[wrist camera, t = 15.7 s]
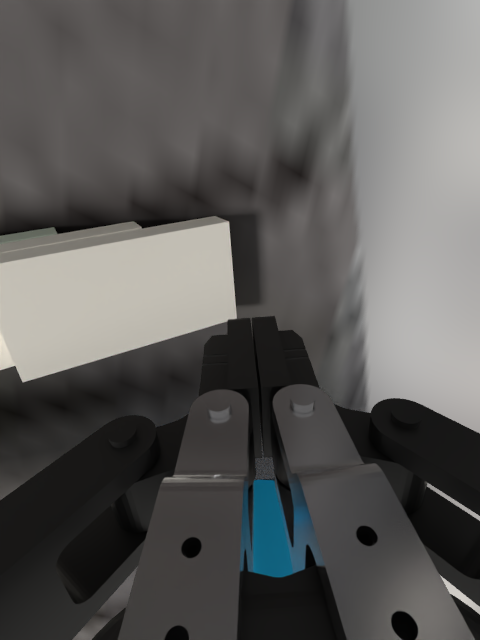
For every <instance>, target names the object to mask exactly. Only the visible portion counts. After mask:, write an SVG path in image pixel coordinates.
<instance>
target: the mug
mask: <svg viewBox="0 0 480 640" xmlns="http://www.w3.org/2000/svg"><path fill="white" fill-rule="evenodd" d="M253 572H254V573H259V574H263V575H268V576H272V577H285V576H288V575H290V574H293V570H292V563H291V557H290V552H289V547H288V543H287V538H286V534H285V529H284V524H283V520H282V515H281V511H280V506H279V502H278V497H277V492H276V488H275V480H254V539H253Z"/></svg>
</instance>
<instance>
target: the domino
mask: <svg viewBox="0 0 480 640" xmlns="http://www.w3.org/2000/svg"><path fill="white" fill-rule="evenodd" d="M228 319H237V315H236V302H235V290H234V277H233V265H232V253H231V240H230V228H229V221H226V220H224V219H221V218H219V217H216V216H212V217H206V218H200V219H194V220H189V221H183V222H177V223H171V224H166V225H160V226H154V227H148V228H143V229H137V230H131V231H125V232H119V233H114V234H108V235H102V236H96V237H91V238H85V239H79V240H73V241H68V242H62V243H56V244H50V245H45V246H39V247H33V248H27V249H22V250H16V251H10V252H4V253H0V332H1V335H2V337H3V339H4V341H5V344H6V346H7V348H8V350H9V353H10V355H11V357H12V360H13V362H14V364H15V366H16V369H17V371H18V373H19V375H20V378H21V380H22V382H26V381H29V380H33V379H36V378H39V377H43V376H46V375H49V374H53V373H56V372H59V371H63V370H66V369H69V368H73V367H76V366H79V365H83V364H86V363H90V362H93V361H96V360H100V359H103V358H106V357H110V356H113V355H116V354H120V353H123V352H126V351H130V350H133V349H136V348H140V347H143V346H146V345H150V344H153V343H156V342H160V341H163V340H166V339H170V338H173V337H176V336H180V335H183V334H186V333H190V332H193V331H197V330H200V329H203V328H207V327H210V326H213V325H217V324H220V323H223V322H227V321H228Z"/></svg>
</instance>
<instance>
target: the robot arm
mask: <svg viewBox="0 0 480 640" xmlns="http://www.w3.org/2000/svg"><path fill="white" fill-rule="evenodd" d="M252 331H253V338H252ZM260 423H261V432H262V441H263V451H264V457H273V463H274V478H275V488H276V492H277V497H278V502H279V506H280V511H281V515H282V520H283V524H284V529H285V534H286V538H287V543H288V547H289V552H290V557H291V563H292V570H293V574H290V575H288V576H285V577H272V576H268V575H263V574H259V573H254V572H253V539H254V479H255V476H256V467H255V458H262V453H261V433H260ZM427 483H429V484H431V485H432V486H434V487H436V488H437V489H439V490H440V491H442V492H443V493H445V494H447V495H448V496H450V497H451V498H453V499H454V500H456V501H458V502H459V503H461V504H462V505H464V506H465V507H467V508H469V509H470V510H471V511H473V512H475V513H476V514H478V515H479V516H480V434H479V433H477V432H475V431H473V430H471V429H469V428H467V427H465V426H463V425H461V424H459V423H457V422H455V421H453V420H451V419H449V418H447V417H445V416H443V415H441V414H439V413H437V412H435V411H433V410H431V409H429V408H427V407H425V406H423V405H421V404H418V403H416V402H413V401H410V400H406V399H395V398H393V399H386V400H383V401H380V402H378V403H377V404H376V405H375V406H374V407H373V408H372V411H371V413H367V412H361V411H355V410H350V409H345V408H342V407H340V406H337V405H335V404H334V403H333V401H332V399H331V398H330V396H329V395H328V394H327V393H326V392H324V391H323V390H321V389H320V388H319V385H318V382H317V379H316V377H315V374H314V371H313V368H312V365H311V362H310V360H309V358H308V354H307V351H306V350H305V346H304V343H303V340H302V338H301V337H300V336H299V335H298V334H296V333H295V332H294V331H293V330H287V331H278V328H277V324H276V320H275V316H269V317H255V318H252V330H251V321H250V318H242V319H228V335H216V336H212V337H211V338H210V339H209V340H208V341H207V343H206V344H205V346H204V357H203V366H202V374H201V383H200V392H199V397H198V398H197V399H196V400H195V401H194V402H193V403H192V405H191V407H190V410H189V414H188V415H186V416H185V417H183V418H182V419H180V420H178V421H175V422H172V423H169V424H166V425H163V426H160V427H157V428H156V427H155V425H154V423H153V422H152V421H151V420H150V419H148V418H146V417H143V416H137V415H132V416H125V417H121V418H118V419H115V420H113V421H111V422H109V423H108V424H106V425H104V426H103V427H102V428H100V429H99V430H98V431H96V432H95V433H93V434H92V435H91V436H89V437H88V438H86V439H85V440H84V441H82V442H81V443H80V444H78V445H77V446H75V447H74V448H73V449H71V450H70V451H68V452H67V453H66V454H64V455H63V456H61V457H60V458H59V459H57V460H56V461H55V462H53V463H52V464H50V465H49V466H48V467H46V468H45V469H43V470H42V471H41V472H39V473H38V474H36V475H35V476H34V477H32V478H31V479H30V480H28V481H27V482H25V483H24V484H23V485H21V486H20V487H18V488H17V489H16V490H14V491H13V492H12V493H10V494H9V495H7V496H6V497H5V498H3V499H2V500H0V640H72V639H73V638H74V637H75V636H76V635H77V633H78V632H79V631H80V630H81V629H82V628H83V627H84V626H85V624H86V623H87V622H88V621H89V620H90V619H91V618H92V617H93V615H94V614H95V613H96V612H97V611H98V610H99V609H100V608H101V606H102V605H103V604H104V603H105V602H106V601H107V600H108V599H109V597H110V596H111V595H112V594H113V593H114V592H115V591H116V590H117V589H118V587H119V586H120V585H121V584H122V583H123V582H124V581H125V580H126V578H127V577H128V576H129V575H130V574H131V573H132V572H133V571H134V569H135V568H136V567H137V566H138V568H137V571H136V575H135V578H134V582H133V586H132V589H131V593H130V597H129V600H128V604H127V607H126V608H124V609H123V610H122V611H121V612H120V613H118V614H117V615H116V616H115V617H114V618H112V619H111V620H110V621H109V622H108V623H107V624H106V625H105V626H104V627H103V628H102V629H101V630H100V631H99V632H98V633H97V634H96V635H95V637H94V638H93V639H92V640H480V615H479V614H478V613H477V612H476V611H474V610H473V609H472V608H471V607H469V606H468V605H466V604H465V603H464V602H462V601H461V600H459V599H458V598H456V597H455V596H453V595H451V594H450V593H449V591H448V589H447V588H446V586H445V584H444V582H443V580H442V578H441V577H440V575H441V576H442V577H443V578H445V579H446V580H447V581H449V582H450V583H451V584H452V585H453V586H455V587H456V588H457V589H458V590H460V591H461V592H462V593H463V594H465V595H466V596H467V597H468V598H470V599H471V600H472V601H473V602H475V603H476V604H477V605H478V606H480V521H479V520H477V519H476V518H474V517H473V516H471V515H470V514H468V513H467V512H465V511H464V510H462V509H460V508H459V507H457V506H456V505H454V504H453V503H451V502H450V501H448V500H447V499H445V498H444V497H442V496H440V495H439V494H437V493H436V492H434V491H433V490H431V489H430V488H428V487H427ZM439 574H440V575H439Z"/></svg>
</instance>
